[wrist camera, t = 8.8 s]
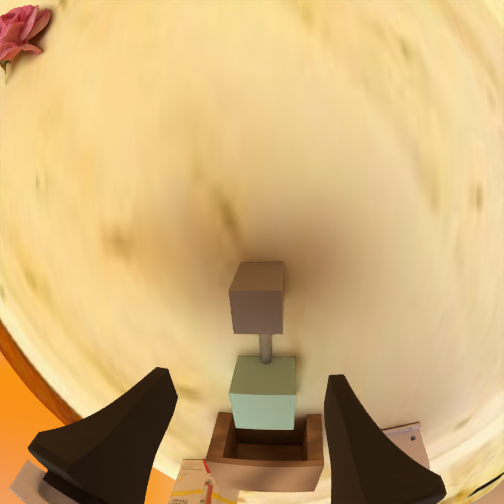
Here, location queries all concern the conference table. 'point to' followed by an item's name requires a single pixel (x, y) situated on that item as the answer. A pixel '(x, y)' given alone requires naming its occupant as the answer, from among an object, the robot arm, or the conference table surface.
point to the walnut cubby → (265, 460)
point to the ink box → (199, 486)
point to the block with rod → (261, 351)
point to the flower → (20, 31)
